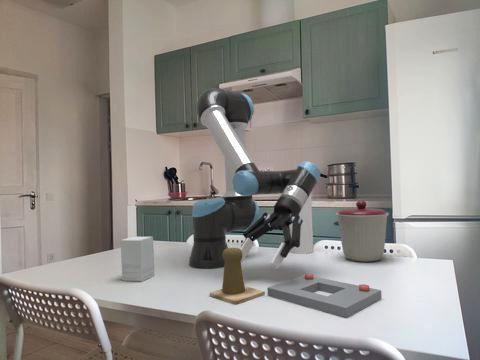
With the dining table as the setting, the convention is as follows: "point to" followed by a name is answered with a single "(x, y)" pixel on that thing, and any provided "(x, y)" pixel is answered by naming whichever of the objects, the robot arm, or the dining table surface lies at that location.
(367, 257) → the canister
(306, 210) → the cylinder container
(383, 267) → the dining table surface
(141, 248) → the supplement box
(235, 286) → the olive pawn
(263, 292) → the coaster
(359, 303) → the plate
